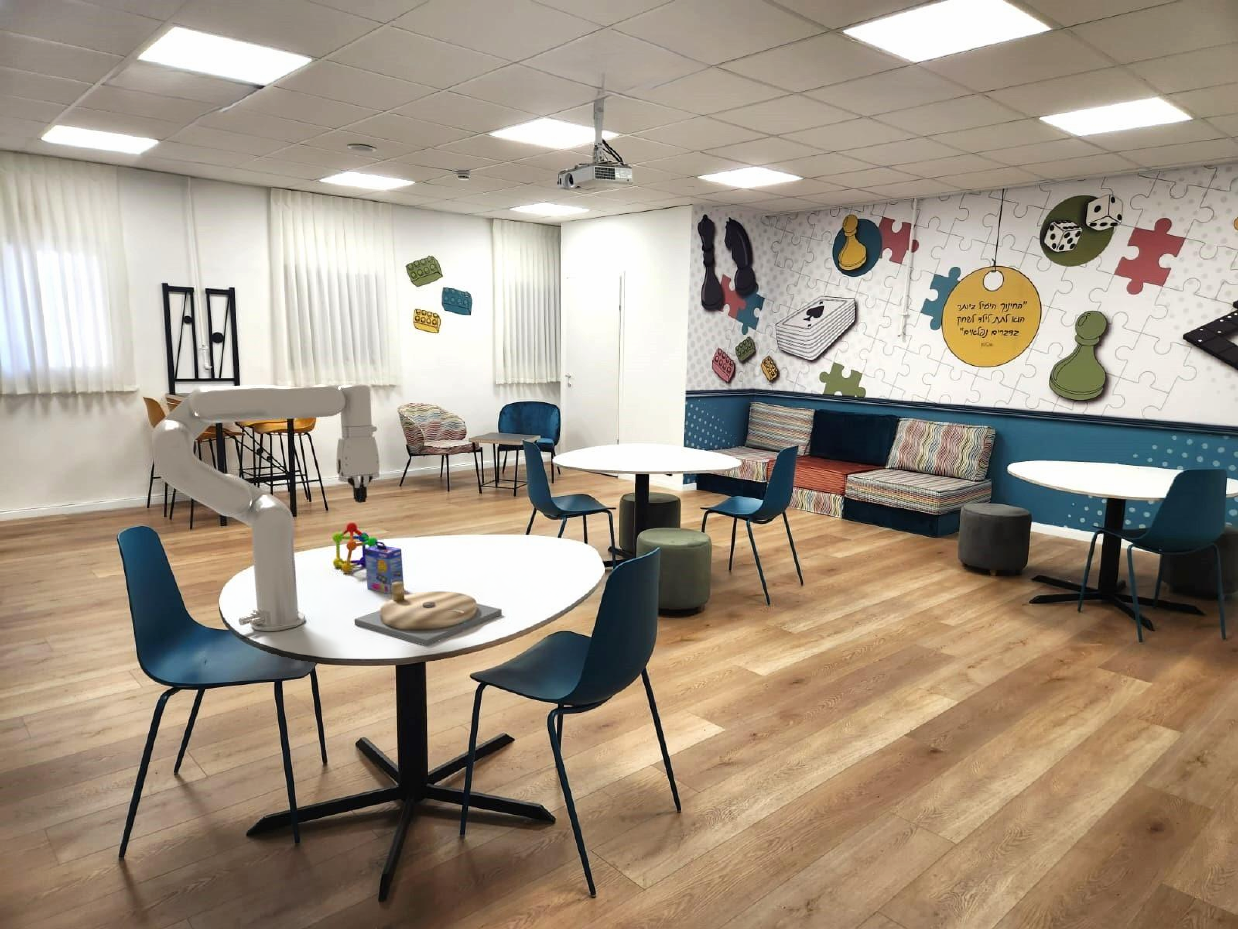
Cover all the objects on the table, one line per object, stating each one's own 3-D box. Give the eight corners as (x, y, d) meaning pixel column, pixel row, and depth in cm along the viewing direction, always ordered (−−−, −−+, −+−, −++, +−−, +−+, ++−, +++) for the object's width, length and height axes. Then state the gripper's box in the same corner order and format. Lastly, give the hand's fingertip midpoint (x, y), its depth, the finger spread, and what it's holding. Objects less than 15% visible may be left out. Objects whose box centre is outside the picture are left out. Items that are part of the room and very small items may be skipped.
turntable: (495, 607, 213) (495, 583, 212) (432, 636, 192) (431, 610, 191) (426, 593, 225) (425, 571, 224) (359, 619, 204) (358, 595, 203)
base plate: (426, 646, 191) (426, 639, 191) (354, 624, 205) (354, 618, 205) (501, 614, 212) (501, 608, 212) (431, 597, 227) (431, 591, 226)
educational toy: (385, 570, 257) (385, 524, 254) (348, 579, 248) (347, 532, 244) (358, 557, 267) (358, 513, 264) (322, 565, 258) (321, 519, 254)
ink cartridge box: (365, 589, 234) (363, 540, 232) (380, 584, 239) (377, 536, 237) (390, 594, 229) (387, 544, 227) (404, 589, 234) (402, 540, 232)
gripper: (378, 428, 218) (381, 496, 221) (322, 433, 208) (326, 503, 211) (390, 431, 213) (393, 500, 215) (334, 435, 203) (338, 507, 206)
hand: (360, 501), depth 213 cm, fingers closed
